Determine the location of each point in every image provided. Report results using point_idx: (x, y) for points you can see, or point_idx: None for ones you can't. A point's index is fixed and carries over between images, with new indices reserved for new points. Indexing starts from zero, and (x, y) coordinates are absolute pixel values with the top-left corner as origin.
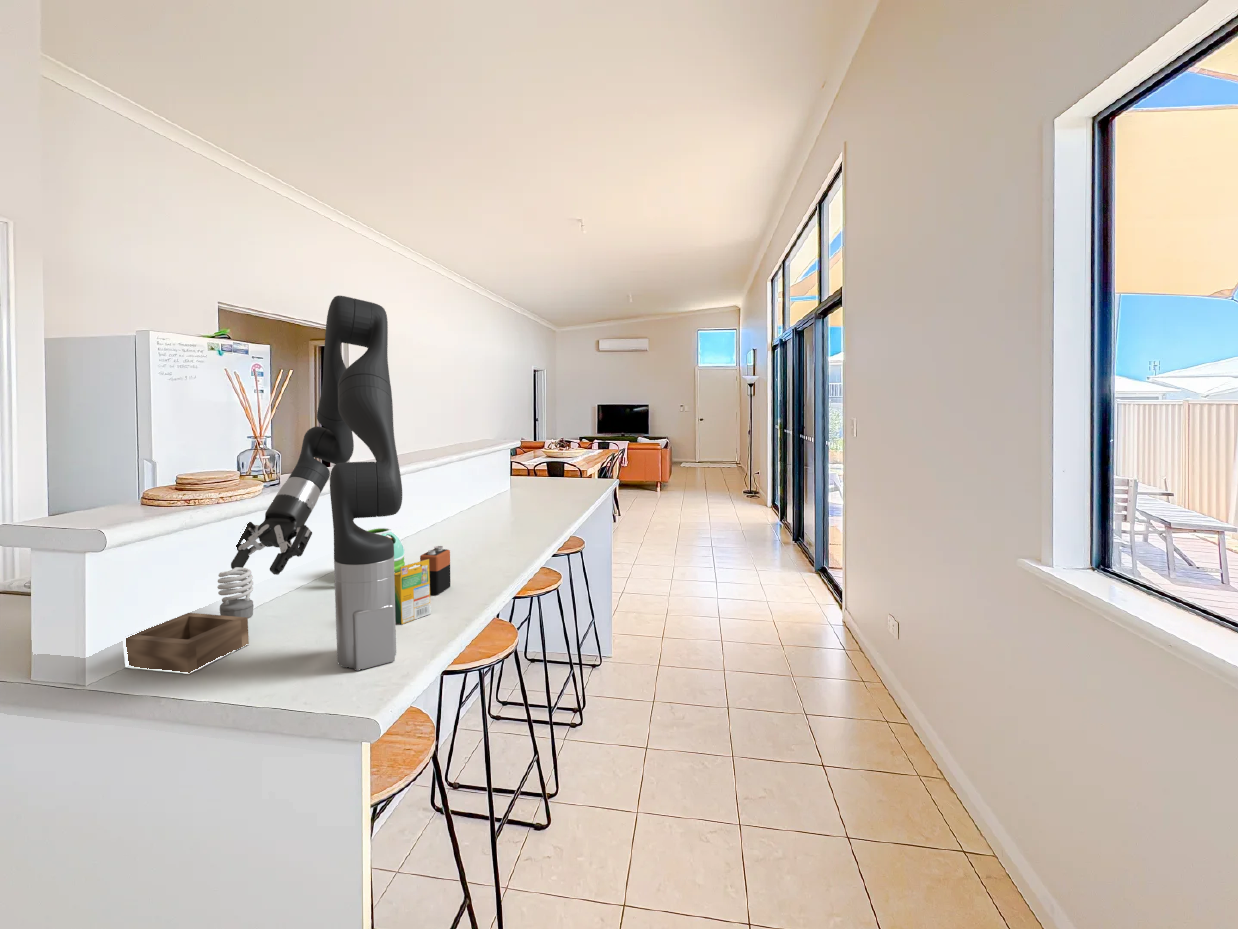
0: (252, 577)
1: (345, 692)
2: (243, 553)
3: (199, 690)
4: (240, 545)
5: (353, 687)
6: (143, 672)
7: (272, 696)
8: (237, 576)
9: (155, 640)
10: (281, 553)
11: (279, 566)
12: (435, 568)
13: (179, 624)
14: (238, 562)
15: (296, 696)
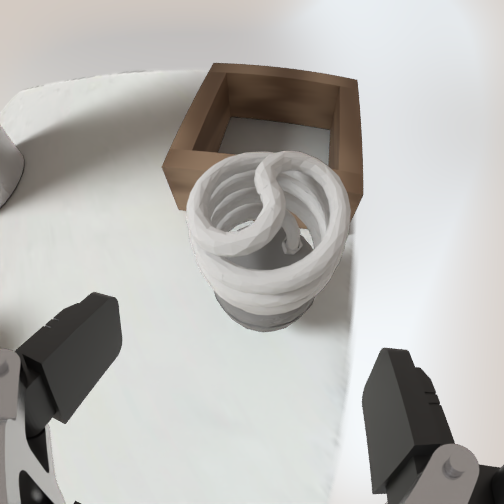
0: (192, 248)
1: (25, 112)
2: (403, 445)
3: (176, 81)
4: (476, 478)
5: (18, 121)
6: None
7: (88, 89)
8: (223, 162)
9: (285, 69)
10: (22, 353)
11: (63, 310)
12: None
13: (337, 157)
14: (386, 386)
15: (66, 95)
